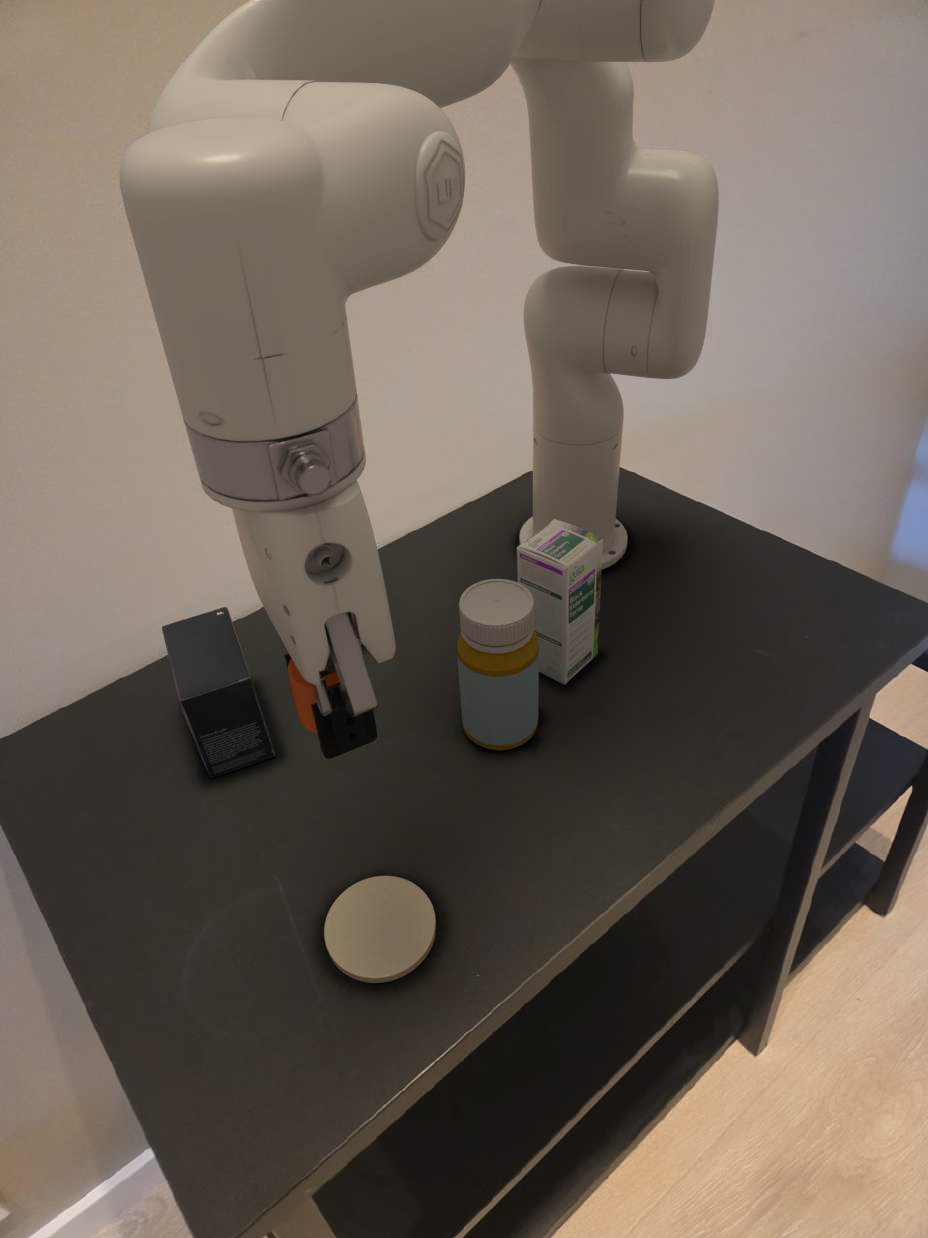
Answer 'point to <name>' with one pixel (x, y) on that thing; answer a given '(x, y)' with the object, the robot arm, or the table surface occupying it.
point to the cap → (307, 694)
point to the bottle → (498, 664)
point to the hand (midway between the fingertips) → (335, 719)
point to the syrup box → (563, 595)
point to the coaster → (380, 929)
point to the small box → (217, 692)
